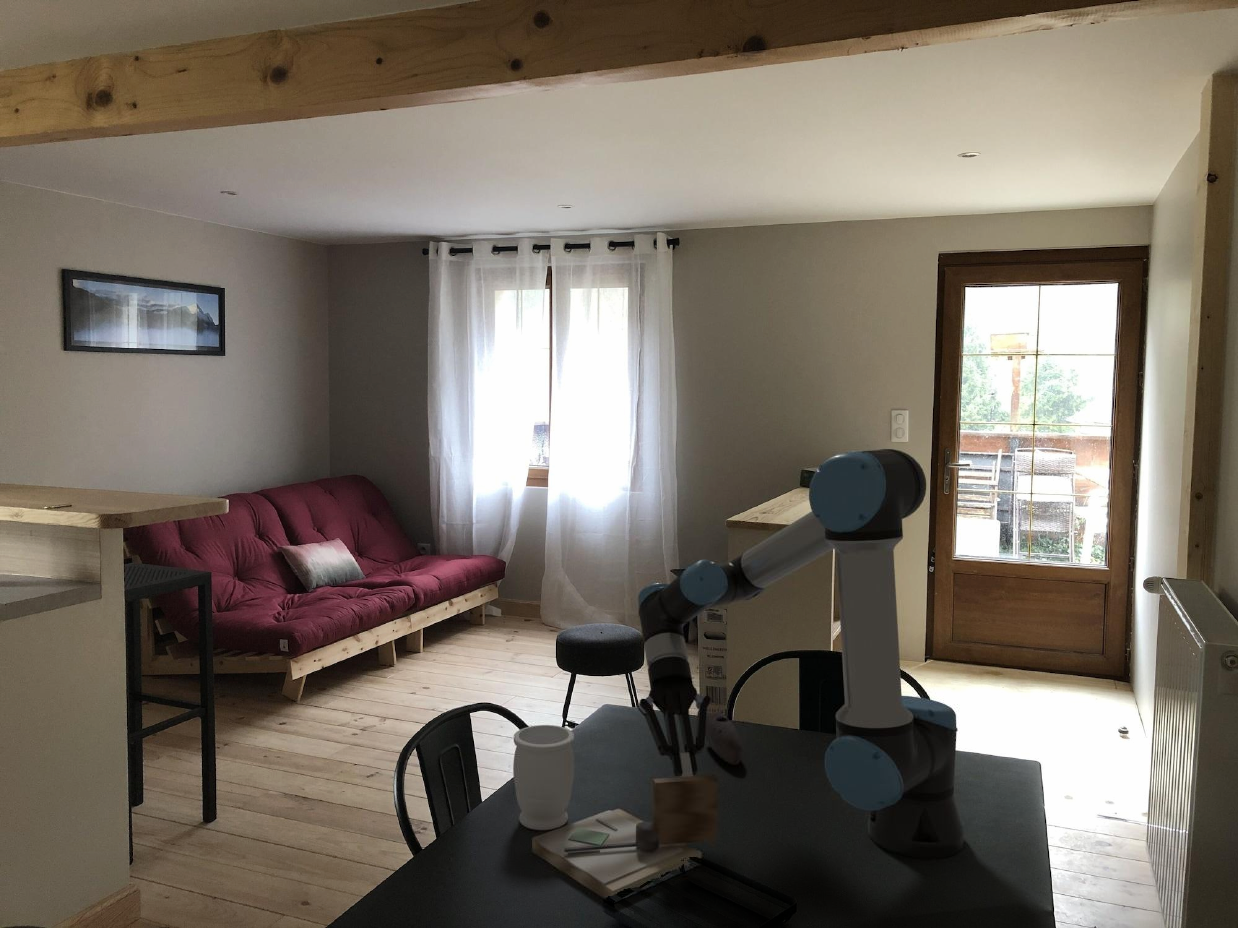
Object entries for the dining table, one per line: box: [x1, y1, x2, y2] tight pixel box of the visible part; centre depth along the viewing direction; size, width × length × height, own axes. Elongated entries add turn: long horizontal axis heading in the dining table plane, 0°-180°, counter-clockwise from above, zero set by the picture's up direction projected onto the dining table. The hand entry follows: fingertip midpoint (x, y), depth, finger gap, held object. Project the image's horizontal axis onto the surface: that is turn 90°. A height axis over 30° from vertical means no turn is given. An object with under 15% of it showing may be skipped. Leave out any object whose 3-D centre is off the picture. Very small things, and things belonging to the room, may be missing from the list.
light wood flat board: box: [531, 808, 703, 900], centre depth 150 cm, size 20×18×2 cm
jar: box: [512, 724, 575, 831], centre depth 163 cm, size 11×10×15 cm
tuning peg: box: [564, 774, 719, 852], centre depth 149 cm, size 24×4×10 cm, turn 100°
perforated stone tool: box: [705, 712, 743, 766], centre depth 192 cm, size 15×5×7 cm, turn 11°
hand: (689, 793), depth 156 cm, fingers closed
